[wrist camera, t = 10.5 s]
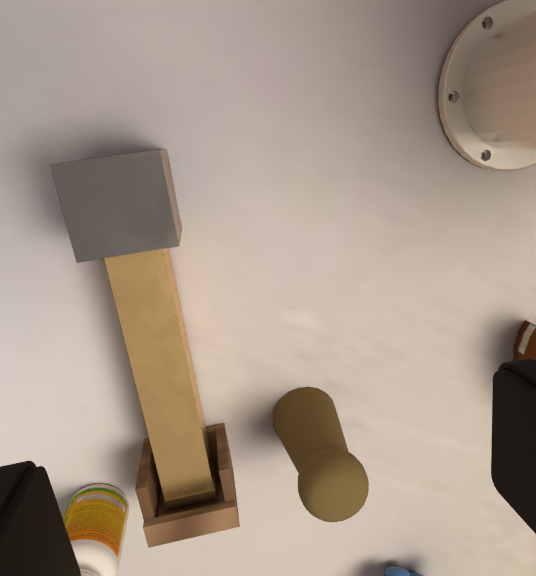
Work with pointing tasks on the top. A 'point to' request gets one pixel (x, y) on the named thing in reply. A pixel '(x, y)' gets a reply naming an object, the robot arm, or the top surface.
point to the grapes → (398, 572)
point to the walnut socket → (191, 517)
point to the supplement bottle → (97, 528)
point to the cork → (320, 455)
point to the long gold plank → (163, 374)
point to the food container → (525, 342)
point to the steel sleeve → (118, 204)
